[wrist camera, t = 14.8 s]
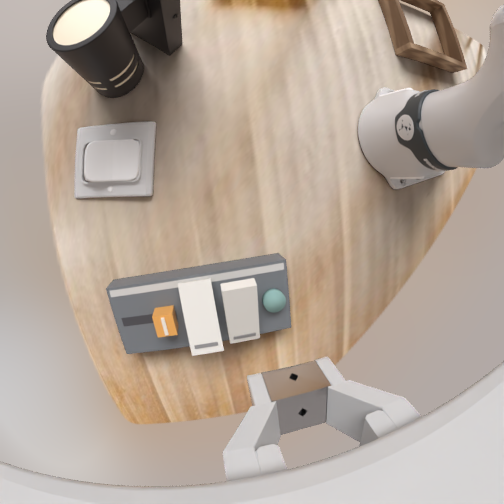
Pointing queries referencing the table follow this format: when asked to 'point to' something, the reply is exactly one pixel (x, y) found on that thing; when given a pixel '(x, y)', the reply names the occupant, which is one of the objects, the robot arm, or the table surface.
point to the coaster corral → (408, 49)
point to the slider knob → (165, 321)
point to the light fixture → (113, 39)
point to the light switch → (115, 160)
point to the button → (273, 300)
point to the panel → (167, 293)
